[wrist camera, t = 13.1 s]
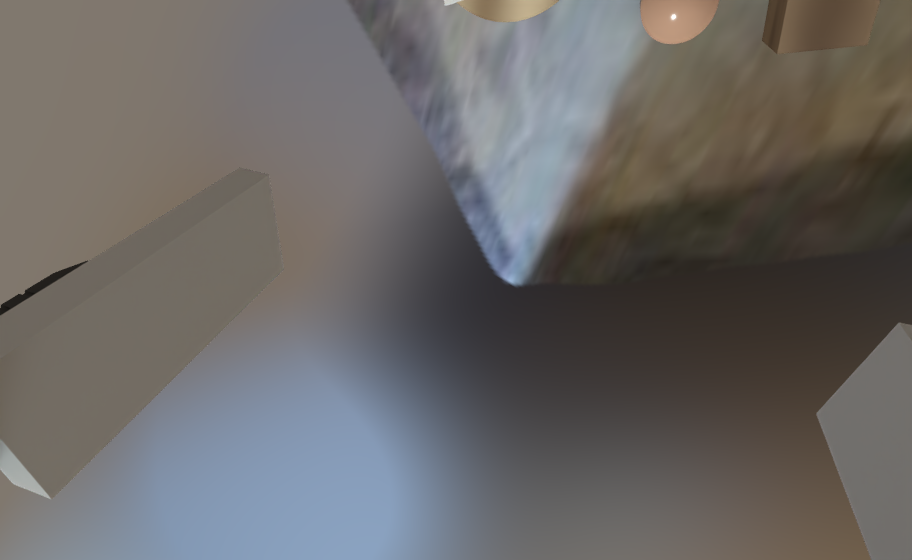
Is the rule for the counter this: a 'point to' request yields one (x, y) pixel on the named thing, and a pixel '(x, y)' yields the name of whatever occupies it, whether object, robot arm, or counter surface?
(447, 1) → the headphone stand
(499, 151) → the counter surface
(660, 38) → the peach domed cylinder
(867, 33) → the walnut cube
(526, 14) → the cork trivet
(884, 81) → the counter surface
